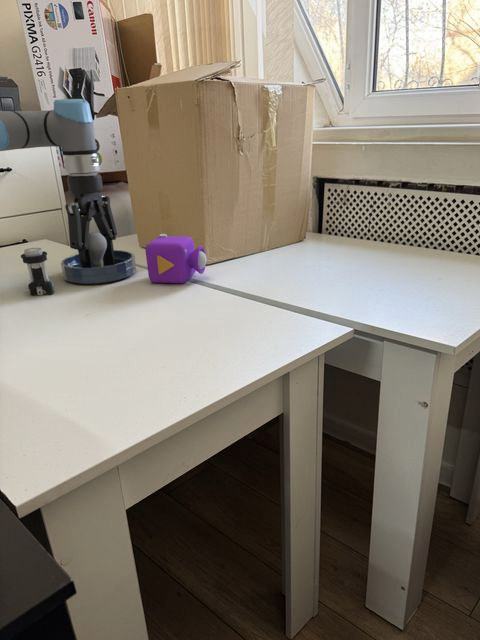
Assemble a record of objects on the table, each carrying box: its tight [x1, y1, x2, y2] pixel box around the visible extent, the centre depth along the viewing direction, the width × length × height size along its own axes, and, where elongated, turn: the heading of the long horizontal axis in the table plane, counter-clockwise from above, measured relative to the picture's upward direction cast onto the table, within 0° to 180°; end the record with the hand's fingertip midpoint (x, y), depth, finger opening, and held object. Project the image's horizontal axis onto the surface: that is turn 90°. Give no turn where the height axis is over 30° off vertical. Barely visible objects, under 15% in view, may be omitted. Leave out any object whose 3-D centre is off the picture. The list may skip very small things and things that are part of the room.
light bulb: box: [87, 231, 107, 267], centre depth 124 cm, size 6×5×10 cm
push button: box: [20, 247, 55, 296], centre depth 112 cm, size 7×5×10 cm
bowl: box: [60, 249, 137, 285], centre depth 125 cm, size 17×17×4 cm
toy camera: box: [145, 233, 208, 284], centre depth 119 cm, size 11×14×10 cm
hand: (100, 270), depth 126 cm, fingers open, 8 cm apart
